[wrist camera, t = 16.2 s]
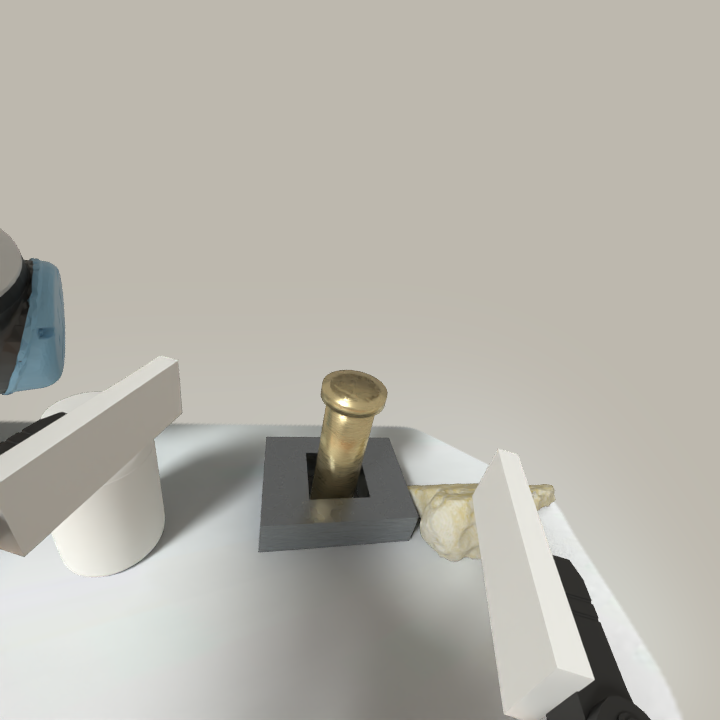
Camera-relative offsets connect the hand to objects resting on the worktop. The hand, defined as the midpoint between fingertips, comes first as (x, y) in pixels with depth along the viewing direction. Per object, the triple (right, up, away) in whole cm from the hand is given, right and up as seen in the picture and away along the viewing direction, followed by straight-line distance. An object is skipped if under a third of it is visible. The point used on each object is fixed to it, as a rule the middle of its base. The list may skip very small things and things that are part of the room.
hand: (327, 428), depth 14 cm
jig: (-2, -14, +26) cm, 30 cm away
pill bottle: (-22, -14, +18) cm, 32 cm away
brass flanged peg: (-2, -14, +26) cm, 30 cm away
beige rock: (+14, -17, +27) cm, 35 cm away
